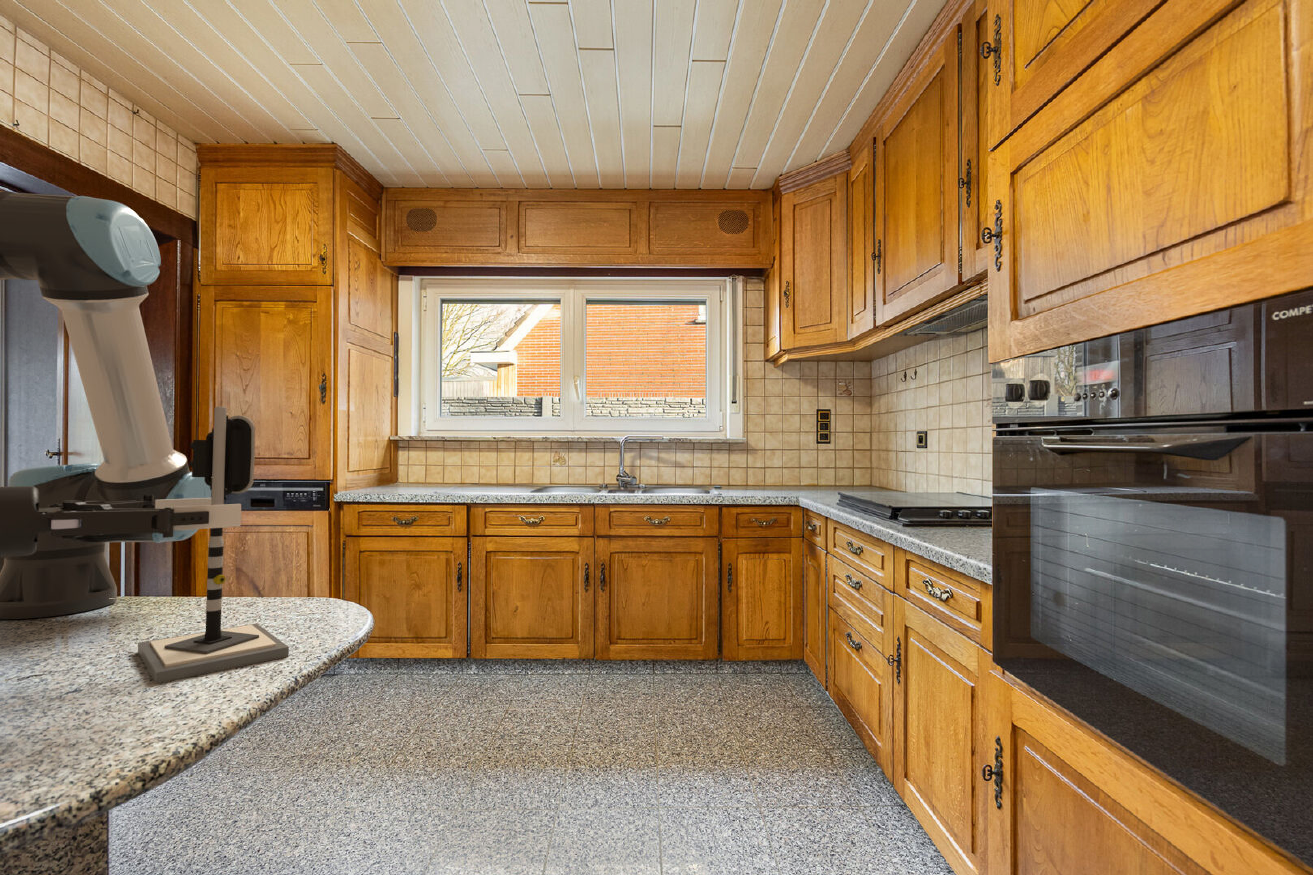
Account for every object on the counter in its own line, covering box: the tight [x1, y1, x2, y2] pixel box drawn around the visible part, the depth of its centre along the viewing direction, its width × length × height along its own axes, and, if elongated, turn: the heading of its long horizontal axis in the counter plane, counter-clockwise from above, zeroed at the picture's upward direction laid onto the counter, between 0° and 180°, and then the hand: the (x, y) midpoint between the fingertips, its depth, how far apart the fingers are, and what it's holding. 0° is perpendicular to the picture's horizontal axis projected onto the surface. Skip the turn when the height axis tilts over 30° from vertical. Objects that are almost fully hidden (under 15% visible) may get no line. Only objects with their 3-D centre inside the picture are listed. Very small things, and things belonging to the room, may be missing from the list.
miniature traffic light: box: [164, 406, 259, 654], centre depth 78 cm, size 8×8×30 cm
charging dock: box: [137, 622, 290, 685], centre depth 77 cm, size 15×13×2 cm
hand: (227, 511), depth 79 cm, fingers open, 13 cm apart
